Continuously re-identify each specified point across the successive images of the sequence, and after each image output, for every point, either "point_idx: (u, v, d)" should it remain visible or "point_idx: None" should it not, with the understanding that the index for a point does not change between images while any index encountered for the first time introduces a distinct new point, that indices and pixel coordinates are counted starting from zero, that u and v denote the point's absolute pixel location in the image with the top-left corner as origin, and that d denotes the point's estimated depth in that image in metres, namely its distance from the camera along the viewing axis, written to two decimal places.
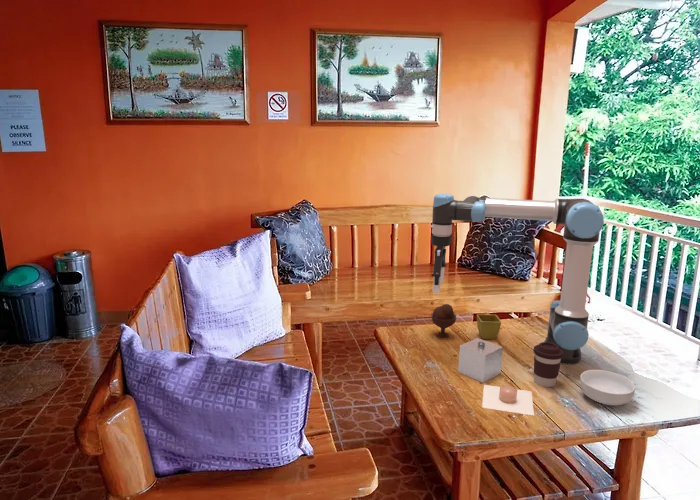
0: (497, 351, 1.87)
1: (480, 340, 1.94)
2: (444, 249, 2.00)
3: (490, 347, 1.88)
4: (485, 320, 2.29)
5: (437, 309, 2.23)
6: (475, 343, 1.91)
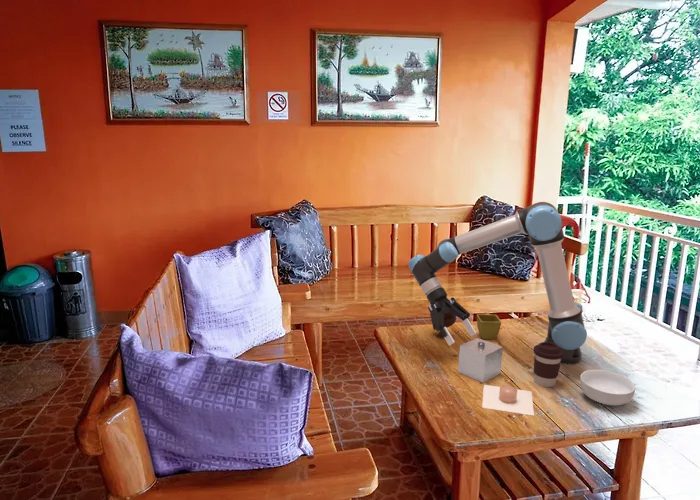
0: (497, 351, 1.87)
1: (480, 340, 1.94)
2: (445, 302, 1.99)
3: (490, 347, 1.88)
4: (485, 320, 2.29)
5: None
6: (475, 343, 1.91)
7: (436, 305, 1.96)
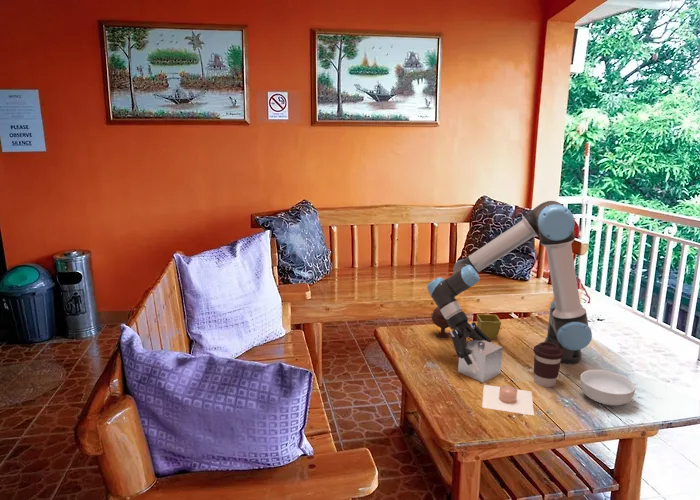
0: (497, 351, 1.87)
1: (480, 340, 1.94)
2: (466, 326, 1.94)
3: (490, 347, 1.88)
4: (485, 320, 2.29)
5: (437, 309, 2.23)
6: (475, 343, 1.91)
7: (457, 330, 1.91)
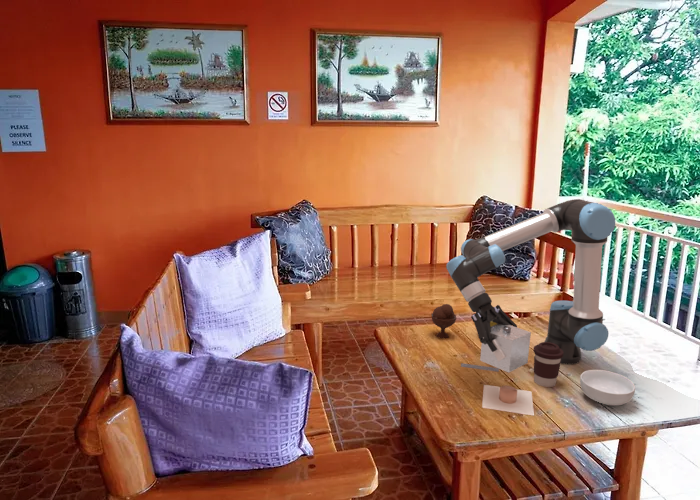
0: (525, 336, 1.68)
1: (505, 325, 1.75)
2: (490, 309, 1.75)
3: (517, 332, 1.69)
4: None
5: (437, 309, 2.23)
6: (499, 328, 1.72)
7: (480, 313, 1.72)
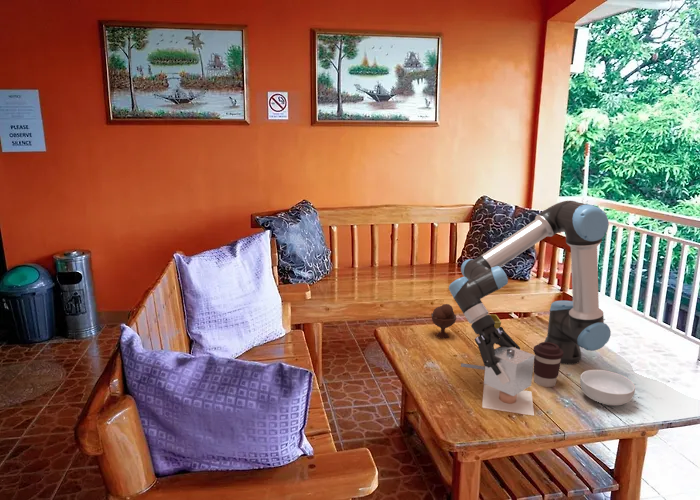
0: (529, 359, 1.67)
1: (508, 347, 1.74)
2: (493, 331, 1.74)
3: (521, 355, 1.68)
4: None
5: (437, 309, 2.23)
6: (503, 351, 1.71)
7: (484, 336, 1.71)
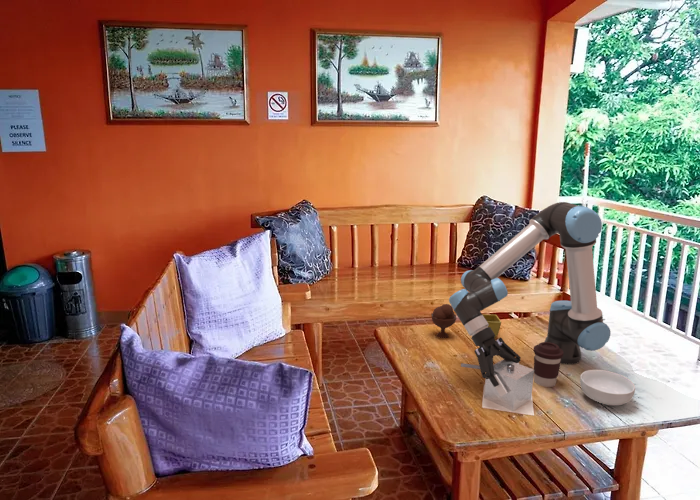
0: (528, 375, 1.68)
1: (508, 361, 1.76)
2: (493, 344, 1.75)
3: (520, 370, 1.70)
4: None
5: (437, 309, 2.23)
6: (503, 366, 1.72)
7: (484, 348, 1.72)
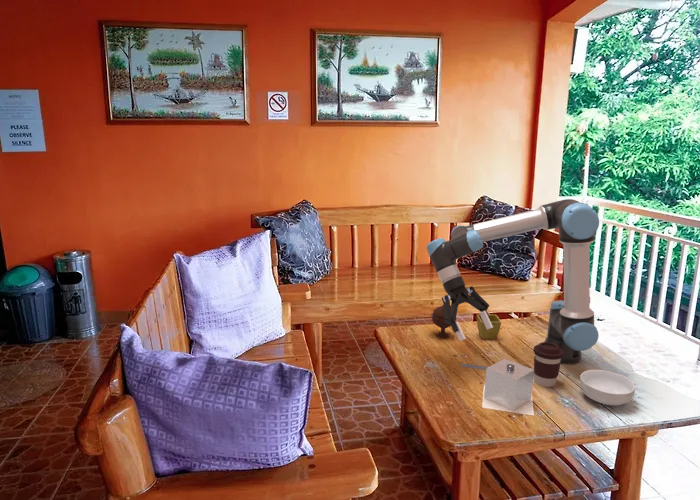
0: (528, 375, 1.68)
1: (508, 361, 1.76)
2: (462, 292, 1.86)
3: (520, 370, 1.70)
4: None
5: (437, 309, 2.23)
6: (503, 366, 1.72)
7: (451, 296, 1.84)
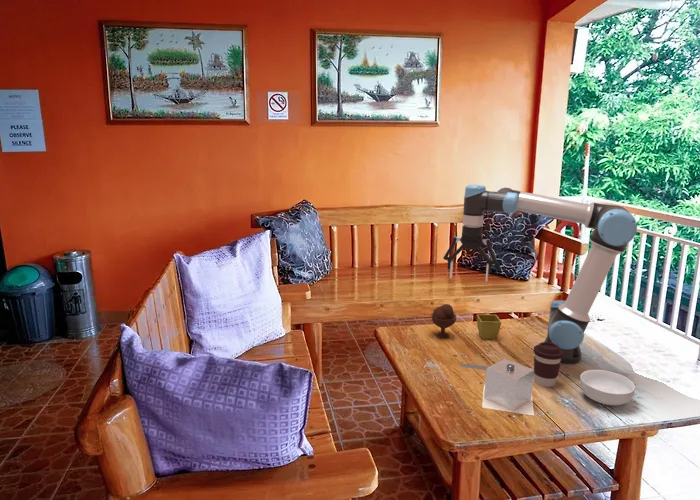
0: (528, 375, 1.68)
1: (508, 361, 1.76)
2: (473, 241, 1.97)
3: (520, 370, 1.70)
4: (485, 320, 2.29)
5: (437, 309, 2.23)
6: (503, 366, 1.72)
7: (460, 240, 1.99)
